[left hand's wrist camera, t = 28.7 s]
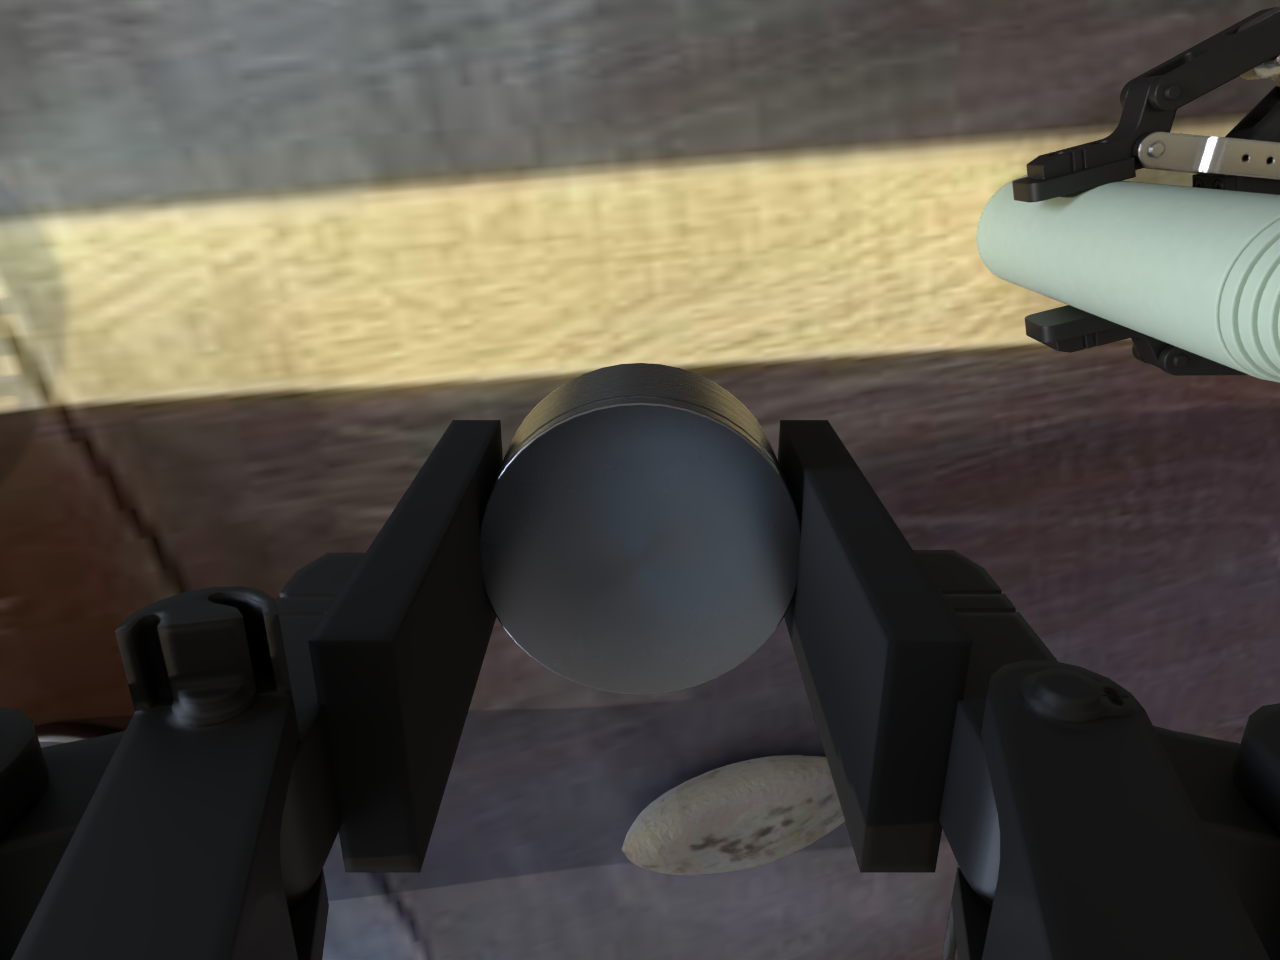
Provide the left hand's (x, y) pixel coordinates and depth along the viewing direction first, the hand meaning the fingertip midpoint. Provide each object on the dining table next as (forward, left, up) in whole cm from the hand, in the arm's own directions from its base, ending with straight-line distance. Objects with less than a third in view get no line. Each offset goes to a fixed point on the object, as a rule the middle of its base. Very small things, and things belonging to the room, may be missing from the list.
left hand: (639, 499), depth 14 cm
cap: (0, 0, +2) cm, 2 cm away
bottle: (+14, -12, -28) cm, 33 cm away
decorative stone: (-17, -26, -28) cm, 42 cm away
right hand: (+11, -10, -22) cm, 26 cm away
